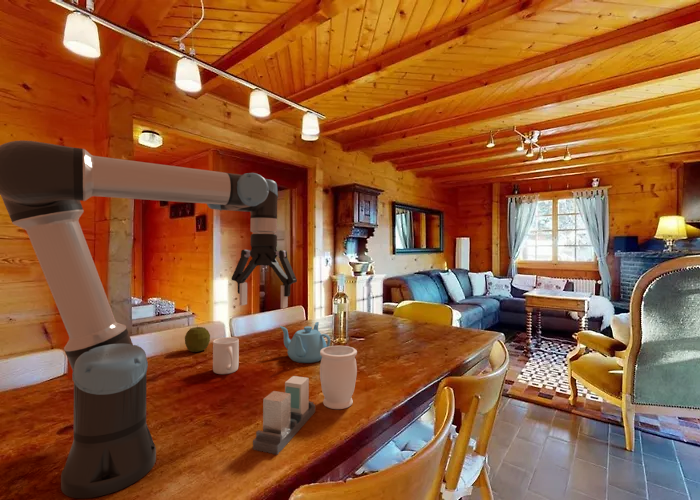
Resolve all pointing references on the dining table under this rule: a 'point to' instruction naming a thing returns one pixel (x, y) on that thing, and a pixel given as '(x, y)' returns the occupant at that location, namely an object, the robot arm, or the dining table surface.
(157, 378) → the dining table surface
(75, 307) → the robot arm
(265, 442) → the rail
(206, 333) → the olive green ball
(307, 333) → the teapot
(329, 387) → the jar
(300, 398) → the block
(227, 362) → the mug
